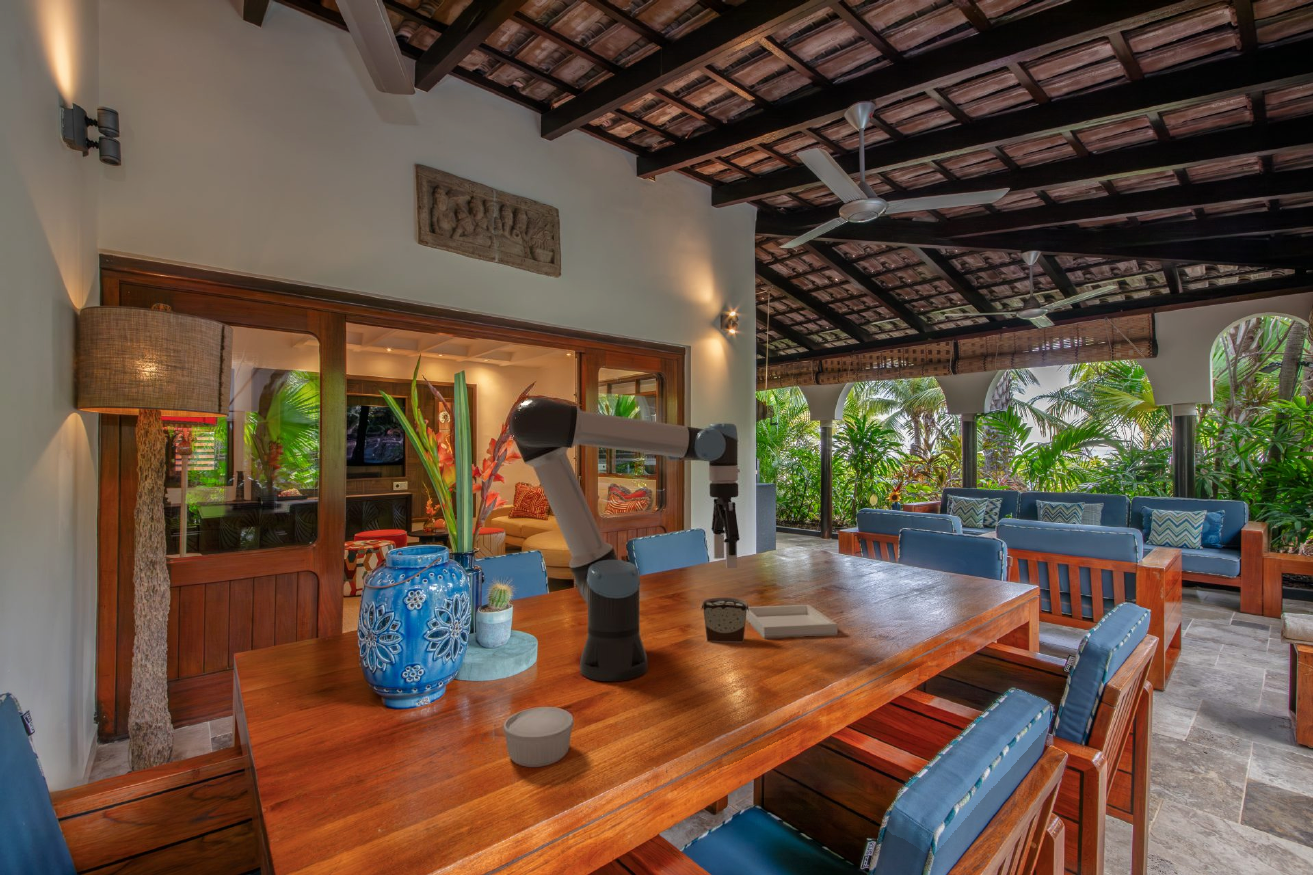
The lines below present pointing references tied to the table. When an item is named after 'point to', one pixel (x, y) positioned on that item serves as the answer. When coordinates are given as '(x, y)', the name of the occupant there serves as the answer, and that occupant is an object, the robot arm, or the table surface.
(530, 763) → the ramekin
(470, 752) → the table surface
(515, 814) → the table surface
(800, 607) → the tray
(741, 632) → the grey brown half-round piece
